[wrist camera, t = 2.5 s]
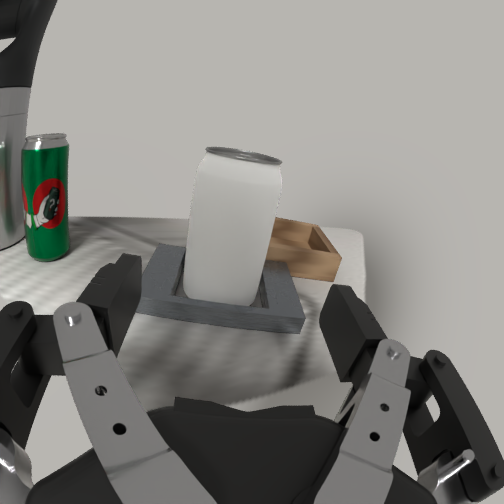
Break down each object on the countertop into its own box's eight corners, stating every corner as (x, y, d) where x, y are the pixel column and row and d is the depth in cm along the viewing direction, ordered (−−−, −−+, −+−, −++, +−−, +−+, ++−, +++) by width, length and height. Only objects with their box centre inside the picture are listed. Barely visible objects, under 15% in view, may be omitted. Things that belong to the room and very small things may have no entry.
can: (213, 266, 29) (234, 147, 24) (268, 294, 26) (301, 164, 21) (167, 289, 23) (181, 145, 18) (226, 327, 21) (259, 163, 16)
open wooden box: (245, 269, 29) (250, 243, 28) (242, 233, 38) (246, 212, 37) (333, 281, 31) (341, 258, 29) (311, 244, 39) (317, 225, 38)
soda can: (78, 245, 26) (79, 133, 21) (55, 268, 22) (50, 138, 17) (44, 239, 25) (42, 133, 20) (20, 259, 21) (12, 139, 16)
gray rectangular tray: (133, 311, 20) (132, 294, 19) (158, 257, 28) (159, 243, 27) (299, 333, 21) (305, 318, 21) (282, 275, 30) (286, 262, 29)
